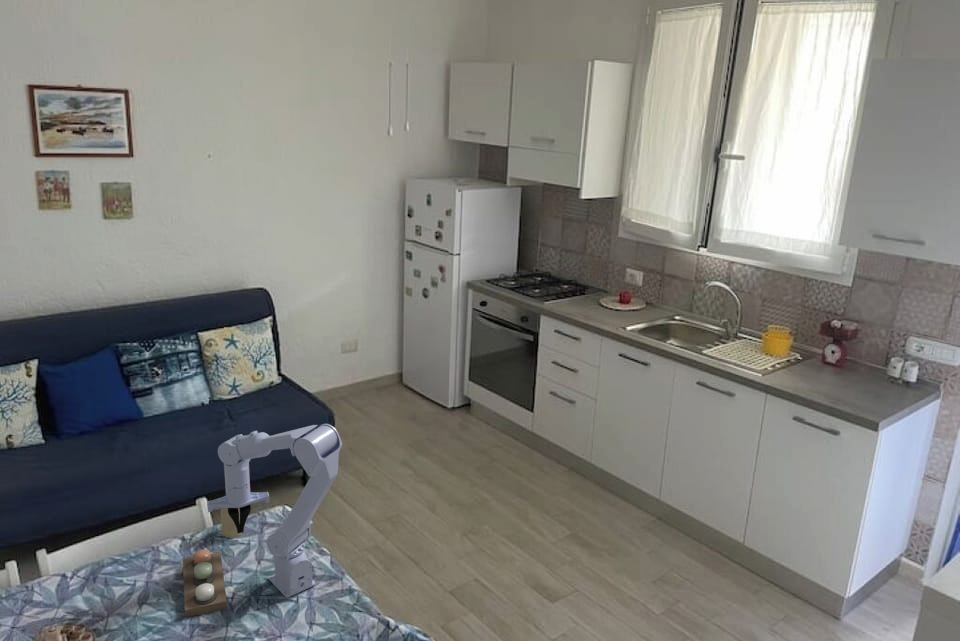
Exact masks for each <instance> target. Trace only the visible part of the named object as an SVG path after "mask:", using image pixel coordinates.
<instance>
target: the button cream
mask: <svg viewBox="0 0 960 641" xmlns="http://www.w3.org/2000/svg"><path fill="white" fill-rule="evenodd" d="M195 591H196V599H197V600H199V601H207V600H210V599H211V598H212V597H213V596H214V586H213V585H212V584H209V583H205V584H201V585H199V586H198V587H197V588H196V590H195Z"/></svg>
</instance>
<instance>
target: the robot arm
mask: <svg viewBox="0 0 960 641" xmlns="http://www.w3.org/2000/svg"><path fill="white" fill-rule="evenodd" d="M342 446H343V441H342V439H341V436H340V433H339V432H338V430H337V429H336V427H334V426H332V425H331V424H330V423H323V424H320V425H318V424H312V425H308V426H305V427H301V428H300V427H299V428H297V429H296V428H295V429H293V430H292V429H291V430H289V431H288V430H287V431H284V432H281V433H276V434H273V435H269V434H268V433H266V432H264V431H263V432H258V430H253V431H252V432H250V433H249V434H247V435H243V434H237V435H235V436H233V437H231V438H230V439H228V440H226V441H224V442H222V443H221V444H220V445H218V448H217V455H218V458H219V459H220V461H221V463H223V470H224V483H225V484H224V486H225V495H224V496H222V497H219V498H216V499H213V500H207V501H206V505H207V506H206V507H207V513H212V512H213V511H217V510H221V509H223V508H228V514H229V516H230V517H231V518H232V520H233V521H234V523H235V525H236V528H237V532H238V533H242V534H243V533H244V532H245V531H244V529H245V526H246V521H247V520H248V517H249V515H250V514H251V510H252V507H251V505H253V504H259V503H265V504H269V503H270V494H269V492H268V491H264V492H252V491H251V483H250V482H251V481H250V463H249V462H251V460H253V459H258V458H259V459H260V458H264V457H267V456H269V455H270V454H271V452H272V451H276V450H287V449H290V453H291V456H292V457H296V459H297V460H298V462H299V464H300V465H301V467H302V468H303V470H304V471H305V473H306V475H307V476H308V477H309V479H308V481H307V483H306V484H305V486H304V487H303V489H302V491H301V493H300V495H299V497H298V498H297V499H296V502H295V503H294V505H293V507H292V508H291V510H290V512H289V514H288V516H287V517H286V519H284V521H283V522H282V523H281V524H280V525H279V527H277V528H276V530H275V532H272V533H271V534H269V535H268V537H267V539H266V546H267V549H268V551H269V553H270V554H271V555H273V558H274V560H273V561H274V574H271V575H269V577H268V580H269V581H270V582H271V583H272V584H273V586H274V587H276V589H278V591H280V593H281V594H282V595H283V596H284V597H285V598H290V597H292V596H294V595H297V594H299V593H300V592H303V591H305V590H307V589H310V588H311V587H314V586H315V585H316V584H317V583H316V582H315V580H313V565H312V562H311V561H310V560H309V559H308V557H307V555H306V551H305V550H306V547H305V546H306V545H307V539H309V538H310V536H311V532H312V531H311V530H312V529H311V528H312V525H313V524H314V522H313V520H312V519H313V518H314V515H315V514H316V512H317V511H318V509H319V507H320V506H321V504H322V502H323V501H324V499H325V497H326V495H327V493H329V490H330V489H331V487H332V485H333V483H334V482H335V480H336V479H337V477H338V474H339V458H340V457H339V456H340V450H341V449H342ZM238 508H239V510H238ZM239 511H240V524H239Z"/></svg>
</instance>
